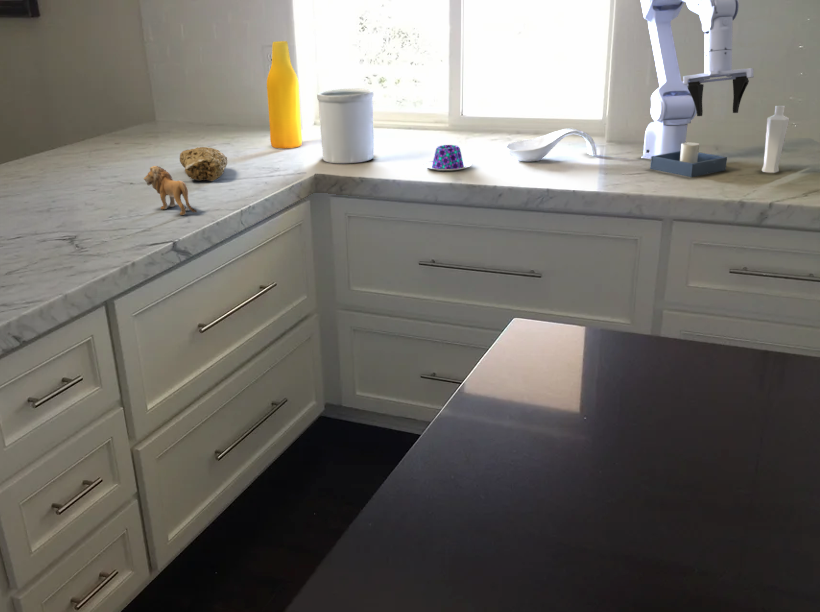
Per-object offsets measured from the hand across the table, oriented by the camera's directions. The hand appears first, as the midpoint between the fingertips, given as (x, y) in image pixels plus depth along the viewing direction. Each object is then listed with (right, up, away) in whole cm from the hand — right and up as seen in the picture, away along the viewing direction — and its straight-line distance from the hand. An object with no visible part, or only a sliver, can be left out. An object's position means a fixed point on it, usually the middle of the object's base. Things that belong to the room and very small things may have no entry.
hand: (717, 114), depth 196 cm
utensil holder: (-84, -2, +38) cm, 92 cm away
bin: (-3, -11, +10) cm, 15 cm away
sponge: (-121, -9, +25) cm, 124 cm away
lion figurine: (-122, -23, -9) cm, 124 cm away
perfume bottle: (+15, -12, +5) cm, 20 cm away
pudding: (-59, -7, +23) cm, 63 cm away
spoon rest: (-32, -4, +29) cm, 43 cm away
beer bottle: (-102, +7, +59) cm, 118 cm away
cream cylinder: (-3, -10, +9) cm, 14 cm away
